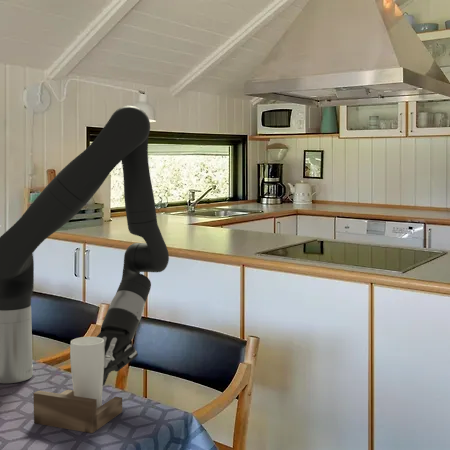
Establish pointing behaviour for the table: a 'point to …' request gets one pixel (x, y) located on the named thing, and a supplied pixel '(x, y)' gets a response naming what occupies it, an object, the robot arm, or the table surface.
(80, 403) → the walnut dock
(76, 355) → the white cup
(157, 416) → the table surface
